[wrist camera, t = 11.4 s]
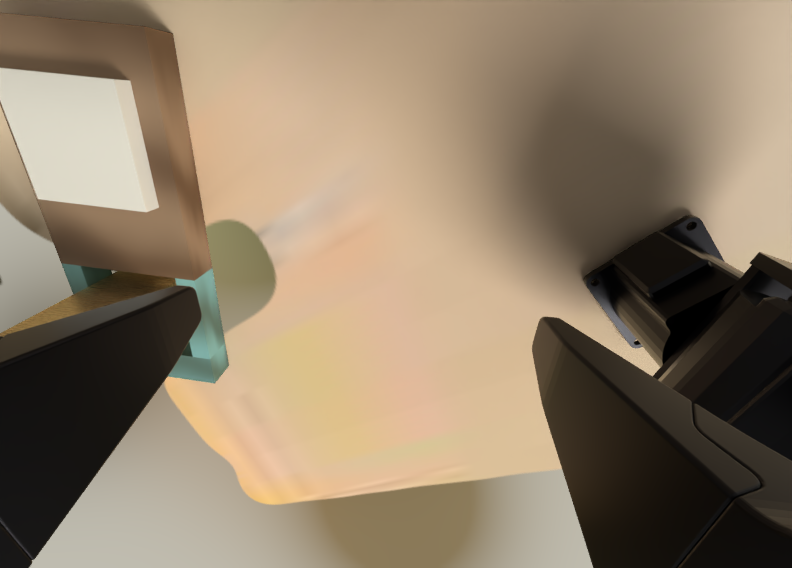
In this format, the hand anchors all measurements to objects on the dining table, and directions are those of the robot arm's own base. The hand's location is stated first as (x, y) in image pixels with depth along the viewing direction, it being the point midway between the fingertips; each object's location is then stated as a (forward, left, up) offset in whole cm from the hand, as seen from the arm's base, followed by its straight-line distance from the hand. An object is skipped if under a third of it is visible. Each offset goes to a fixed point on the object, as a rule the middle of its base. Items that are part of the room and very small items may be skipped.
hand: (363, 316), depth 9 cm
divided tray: (+10, +15, -13) cm, 22 cm away
